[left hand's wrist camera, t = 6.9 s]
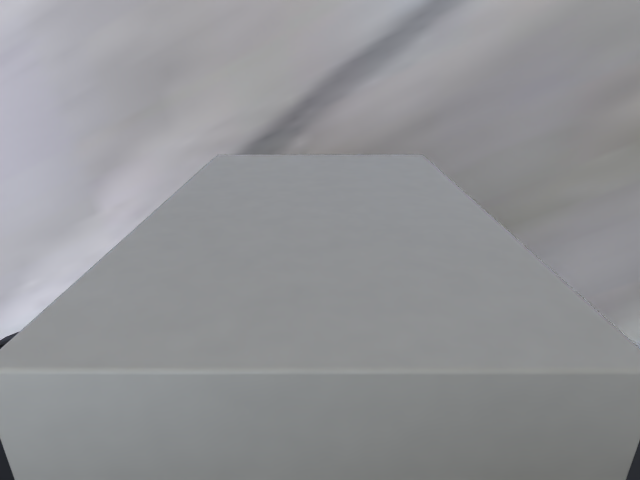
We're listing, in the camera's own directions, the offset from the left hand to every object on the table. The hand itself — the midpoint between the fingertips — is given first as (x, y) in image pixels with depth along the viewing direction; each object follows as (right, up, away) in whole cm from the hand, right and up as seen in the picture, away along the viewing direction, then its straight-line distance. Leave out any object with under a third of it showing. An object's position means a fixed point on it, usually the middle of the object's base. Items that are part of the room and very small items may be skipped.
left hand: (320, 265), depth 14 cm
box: (0, -7, +4) cm, 8 cm away
